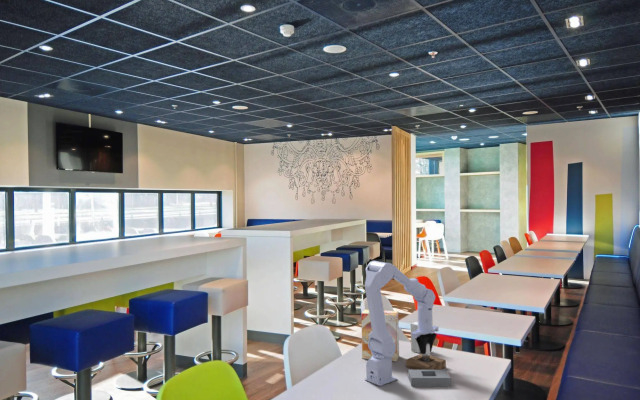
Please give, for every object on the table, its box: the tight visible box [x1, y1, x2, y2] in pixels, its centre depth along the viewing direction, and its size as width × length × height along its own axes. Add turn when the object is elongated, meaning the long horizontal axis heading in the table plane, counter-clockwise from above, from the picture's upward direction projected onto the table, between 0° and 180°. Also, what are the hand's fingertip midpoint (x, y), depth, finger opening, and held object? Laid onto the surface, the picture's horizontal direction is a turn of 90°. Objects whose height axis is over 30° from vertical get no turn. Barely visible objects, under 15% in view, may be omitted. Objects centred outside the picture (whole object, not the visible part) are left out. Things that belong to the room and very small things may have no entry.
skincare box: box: [410, 321, 421, 354], centre depth 206 cm, size 6×4×12 cm
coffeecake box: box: [361, 309, 400, 362], centre depth 198 cm, size 15×7×20 cm, turn 73°
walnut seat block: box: [405, 353, 447, 370], centre depth 185 cm, size 11×11×3 cm
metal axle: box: [421, 342, 431, 363], centre depth 185 cm, size 3×3×8 cm
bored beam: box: [407, 369, 452, 387], centre depth 171 cm, size 14×8×3 cm, turn 87°
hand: (425, 352), depth 185 cm, fingers closed on metal axle, 3 cm apart
